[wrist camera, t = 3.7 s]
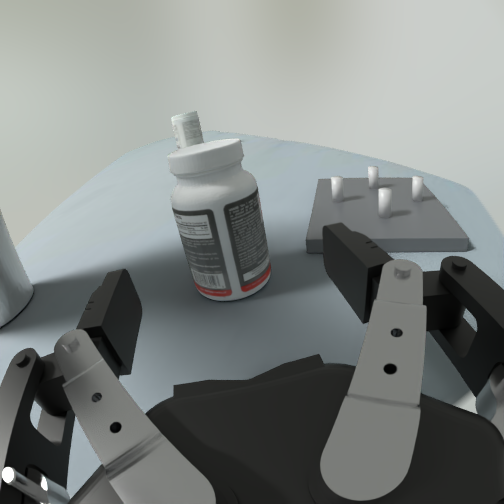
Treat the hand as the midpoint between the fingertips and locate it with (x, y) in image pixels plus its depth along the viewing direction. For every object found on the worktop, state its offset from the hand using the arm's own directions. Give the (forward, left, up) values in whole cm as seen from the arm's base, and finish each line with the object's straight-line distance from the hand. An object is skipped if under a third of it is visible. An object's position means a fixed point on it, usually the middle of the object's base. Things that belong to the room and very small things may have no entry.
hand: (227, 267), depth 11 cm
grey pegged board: (+8, +21, -6) cm, 23 cm away
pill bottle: (-4, +8, -6) cm, 11 cm away
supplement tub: (-46, +85, -6) cm, 96 cm away
